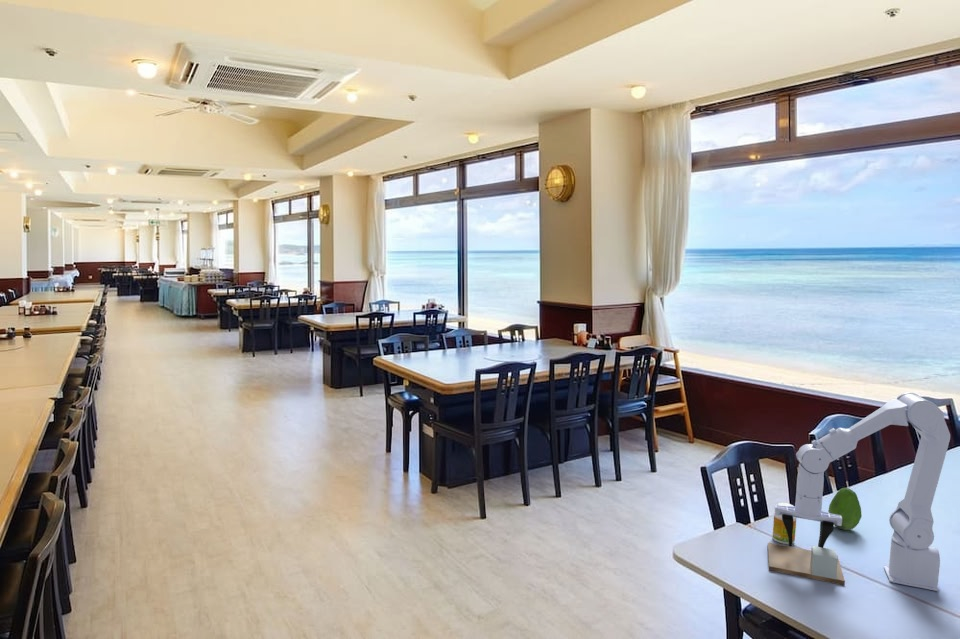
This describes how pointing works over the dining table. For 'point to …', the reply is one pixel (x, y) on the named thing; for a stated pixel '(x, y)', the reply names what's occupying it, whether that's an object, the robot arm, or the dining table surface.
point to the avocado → (846, 508)
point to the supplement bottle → (782, 528)
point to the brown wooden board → (797, 563)
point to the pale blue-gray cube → (823, 562)
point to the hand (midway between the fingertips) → (805, 547)
